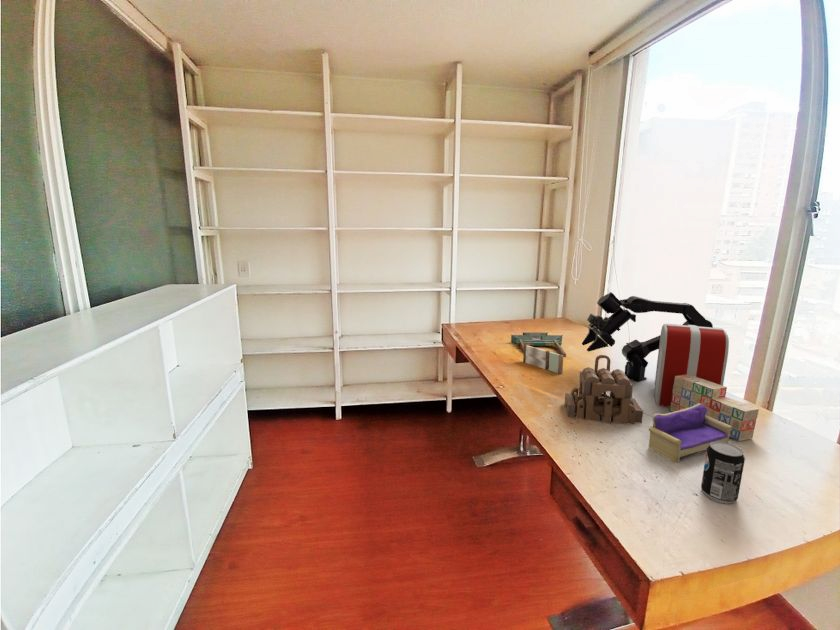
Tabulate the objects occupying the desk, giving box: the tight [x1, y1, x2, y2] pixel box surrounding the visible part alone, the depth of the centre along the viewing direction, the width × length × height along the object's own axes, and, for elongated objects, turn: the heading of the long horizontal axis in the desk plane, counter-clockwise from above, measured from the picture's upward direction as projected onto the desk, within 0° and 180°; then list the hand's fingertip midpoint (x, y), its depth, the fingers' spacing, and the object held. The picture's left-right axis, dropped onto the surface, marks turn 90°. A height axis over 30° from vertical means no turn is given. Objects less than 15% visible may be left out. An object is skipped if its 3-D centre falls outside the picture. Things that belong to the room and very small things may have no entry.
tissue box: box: [653, 323, 730, 408], centre depth 133 cm, size 16×18×27 cm
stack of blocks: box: [669, 375, 760, 442], centre depth 119 cm, size 21×6×12 cm, turn 18°
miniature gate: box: [510, 331, 567, 358], centre depth 199 cm, size 27×6×30 cm
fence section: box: [522, 345, 551, 371], centre depth 171 cm, size 14×2×8 cm, turn 35°
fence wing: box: [548, 351, 564, 375], centre depth 163 cm, size 6×2×8 cm, turn 35°
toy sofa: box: [648, 403, 732, 464], centre depth 106 cm, size 21×9×10 cm, turn 109°
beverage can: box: [700, 441, 746, 505], centre depth 87 cm, size 7×7×12 cm
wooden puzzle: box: [564, 354, 644, 425], centre depth 127 cm, size 22×15×19 cm, turn 76°
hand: (584, 347), depth 158 cm, fingers open, 8 cm apart
